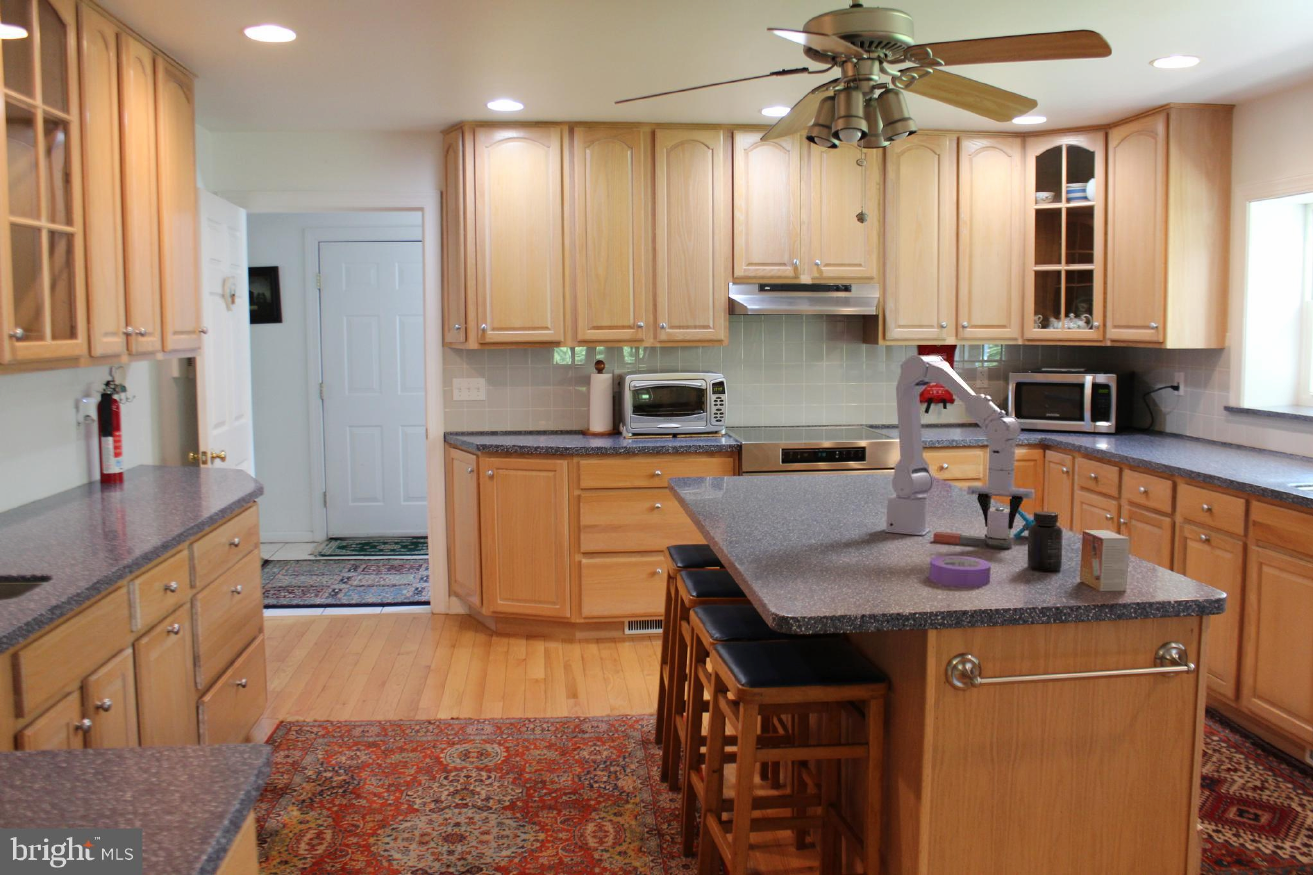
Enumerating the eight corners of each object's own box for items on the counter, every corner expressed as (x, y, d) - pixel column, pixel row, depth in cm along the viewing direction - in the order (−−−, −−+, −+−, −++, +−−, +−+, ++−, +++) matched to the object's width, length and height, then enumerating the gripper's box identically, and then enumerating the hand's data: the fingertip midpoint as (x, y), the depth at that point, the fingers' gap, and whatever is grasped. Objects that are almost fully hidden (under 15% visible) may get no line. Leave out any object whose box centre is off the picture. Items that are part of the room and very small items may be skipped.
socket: (986, 536, 233) (988, 509, 232) (989, 532, 237) (991, 505, 236) (1007, 538, 231) (1008, 511, 230) (1010, 534, 235) (1011, 507, 234)
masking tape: (1002, 585, 199) (1003, 566, 199) (950, 589, 196) (951, 570, 196) (968, 572, 210) (968, 554, 210) (918, 575, 207) (919, 557, 207)
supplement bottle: (1060, 566, 215) (1063, 511, 214) (1062, 573, 208) (1065, 516, 207) (1026, 564, 217) (1028, 509, 216) (1026, 571, 211) (1029, 514, 209)
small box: (1078, 581, 202) (1081, 529, 201) (1105, 580, 203) (1108, 529, 202) (1099, 591, 194) (1102, 537, 193) (1127, 591, 195) (1130, 537, 194)
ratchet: (932, 543, 238) (932, 521, 238) (937, 538, 243) (938, 517, 243) (1009, 550, 230) (1010, 528, 230) (1013, 545, 235) (1014, 523, 235)
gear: (1048, 537, 237) (1018, 505, 240) (1028, 554, 238) (998, 522, 241) (1049, 535, 247) (1019, 504, 250) (1030, 551, 249) (1001, 520, 252)
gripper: (965, 469, 232) (963, 527, 233) (1032, 473, 225) (1029, 533, 227) (971, 465, 238) (969, 522, 240) (1036, 469, 232) (1033, 527, 233)
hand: (998, 527), depth 234 cm, fingers closed on socket, 4 cm apart
